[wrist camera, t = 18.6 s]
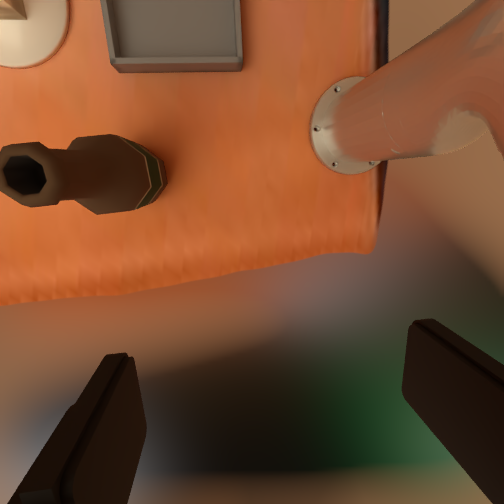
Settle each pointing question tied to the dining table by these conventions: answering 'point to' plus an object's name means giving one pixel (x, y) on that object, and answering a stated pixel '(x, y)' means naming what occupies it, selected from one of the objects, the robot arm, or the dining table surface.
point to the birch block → (12, 10)
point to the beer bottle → (83, 174)
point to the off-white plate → (34, 34)
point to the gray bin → (173, 35)
